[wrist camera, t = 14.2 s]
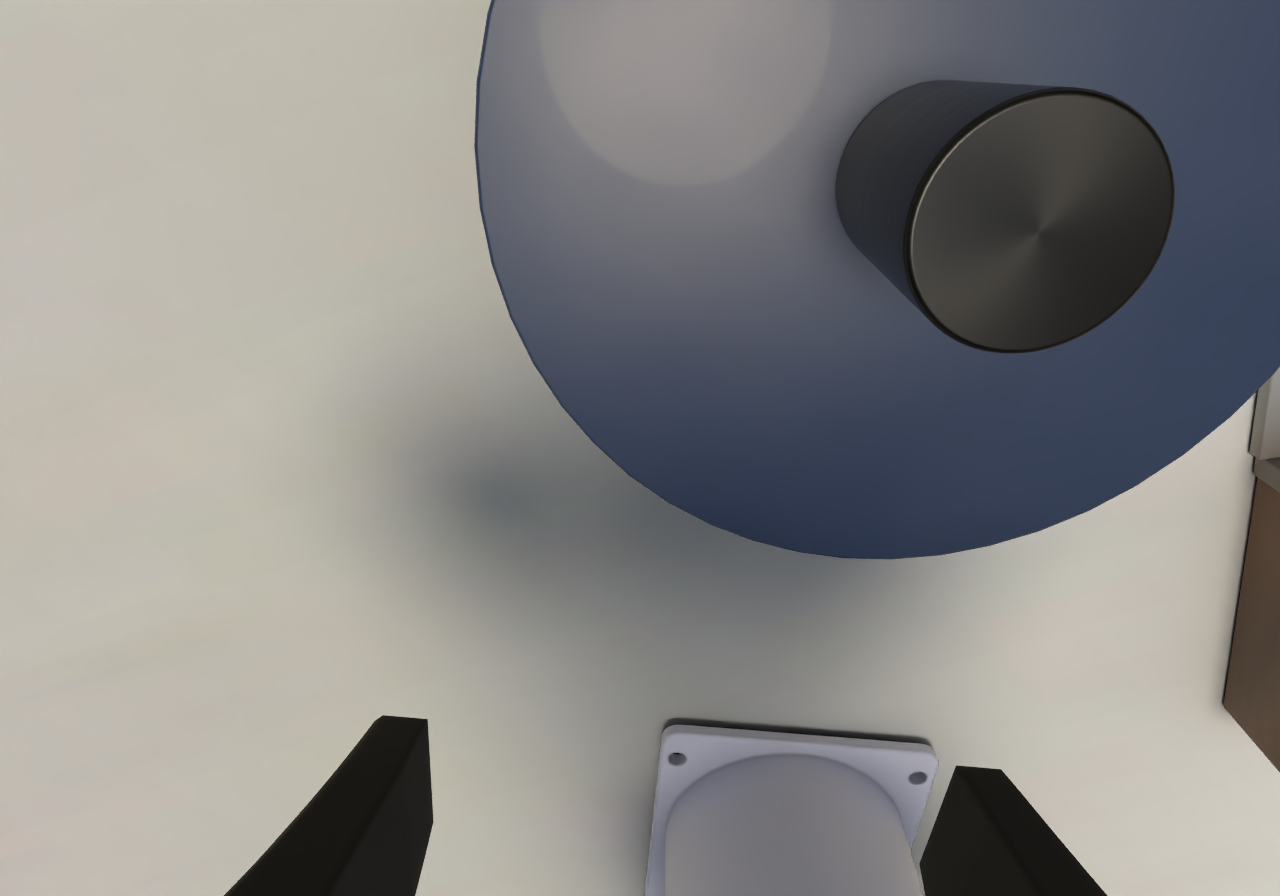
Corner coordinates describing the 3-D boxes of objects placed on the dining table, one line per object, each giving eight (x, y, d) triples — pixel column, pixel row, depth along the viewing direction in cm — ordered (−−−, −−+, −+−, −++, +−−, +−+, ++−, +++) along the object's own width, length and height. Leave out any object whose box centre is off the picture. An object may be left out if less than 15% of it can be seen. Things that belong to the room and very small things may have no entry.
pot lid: (1165, 547, 13) (1379, 756, 9) (497, 495, 13) (422, 680, 9) (1561, -359, 8) (2399, -757, 4) (483, -436, 8) (306, -902, 4)
